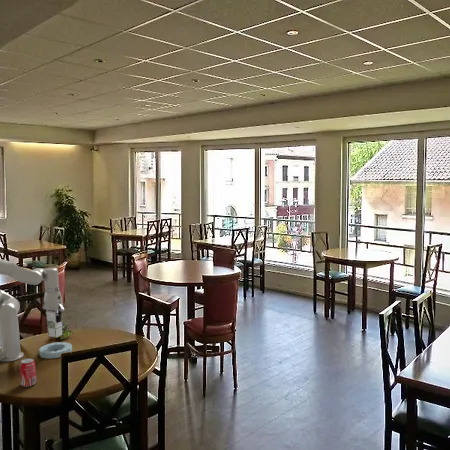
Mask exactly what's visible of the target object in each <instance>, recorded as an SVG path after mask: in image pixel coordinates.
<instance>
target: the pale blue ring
mask: <svg viewBox="0 0 450 450" xmlns="http://www.w3.org/2000/svg"><path fill="white" fill-rule="evenodd" d="M71 351H73V345H72V344H71V343H70V342H64V341H63V342H59V341H57V342H51V343H47V344H45V345H43V346H41V347H40V348H39V349H38V353H39V354H38V355H39V357H40V358H42V359H43V358H44V359H48V360H49V359H58V358H61V357H60V356H61V354H62V353H66V352H71ZM71 353H72V352H71Z"/></svg>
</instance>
